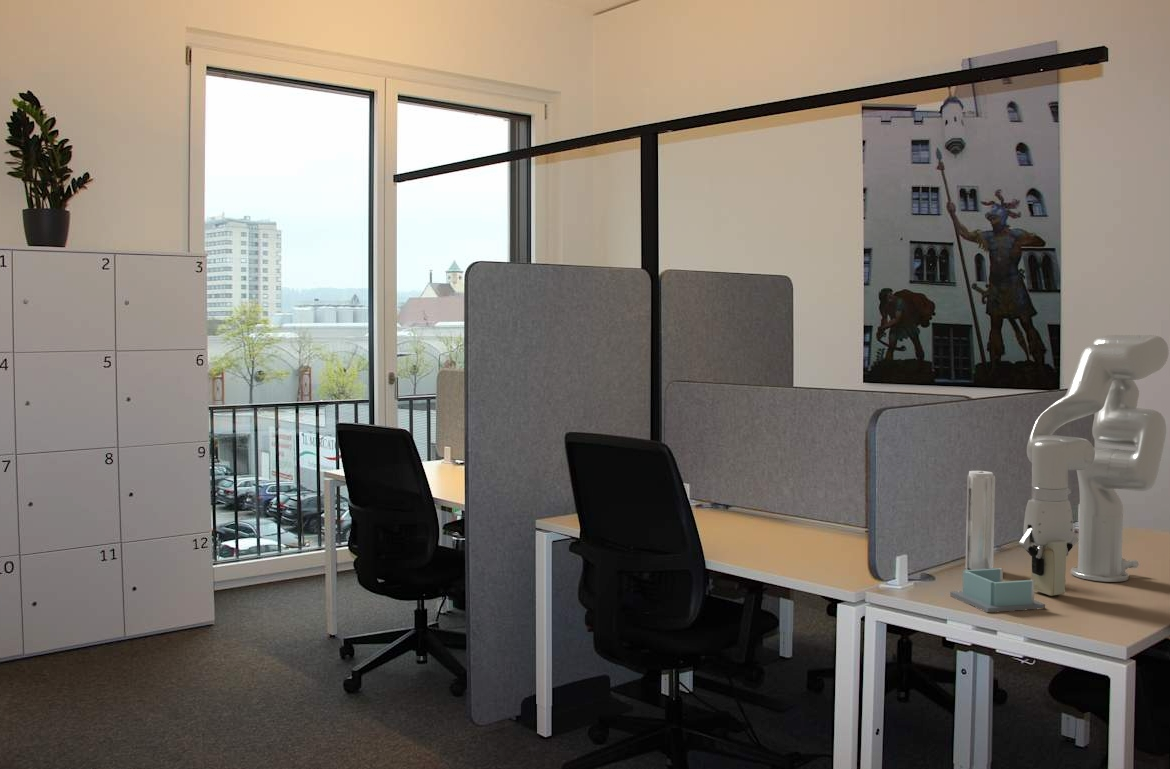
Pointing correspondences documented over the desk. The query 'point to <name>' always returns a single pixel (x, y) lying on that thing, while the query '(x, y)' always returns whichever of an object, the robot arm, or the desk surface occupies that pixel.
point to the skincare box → (1052, 569)
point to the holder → (996, 591)
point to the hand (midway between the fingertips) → (1048, 572)
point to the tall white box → (980, 520)
